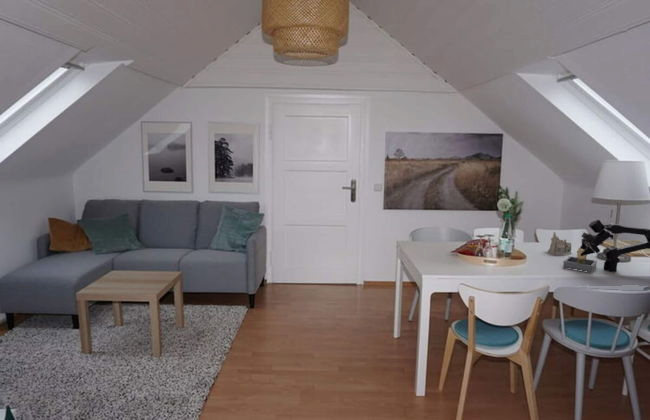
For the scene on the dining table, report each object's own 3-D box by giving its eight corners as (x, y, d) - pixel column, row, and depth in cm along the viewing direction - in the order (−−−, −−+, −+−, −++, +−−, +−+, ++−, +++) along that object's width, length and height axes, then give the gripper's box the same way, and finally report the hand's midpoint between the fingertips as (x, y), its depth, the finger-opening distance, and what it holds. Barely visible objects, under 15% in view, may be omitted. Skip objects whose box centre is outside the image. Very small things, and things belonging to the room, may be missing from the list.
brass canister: (585, 266, 298) (588, 249, 296) (583, 267, 294) (586, 251, 292) (576, 264, 301) (579, 247, 299) (574, 265, 297) (577, 249, 295)
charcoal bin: (596, 267, 299) (596, 260, 298) (591, 273, 287) (592, 266, 286) (568, 262, 309) (569, 256, 308) (563, 267, 297) (563, 261, 296)
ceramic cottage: (550, 254, 328) (554, 234, 326) (546, 250, 344) (549, 230, 341) (574, 258, 324) (578, 237, 322) (569, 253, 340) (572, 233, 337)
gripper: (586, 225, 302) (565, 241, 306) (596, 231, 284) (574, 248, 288) (598, 238, 301) (577, 253, 306) (609, 245, 283) (587, 261, 287)
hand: (578, 253), depth 297 cm, fingers open, 7 cm apart
